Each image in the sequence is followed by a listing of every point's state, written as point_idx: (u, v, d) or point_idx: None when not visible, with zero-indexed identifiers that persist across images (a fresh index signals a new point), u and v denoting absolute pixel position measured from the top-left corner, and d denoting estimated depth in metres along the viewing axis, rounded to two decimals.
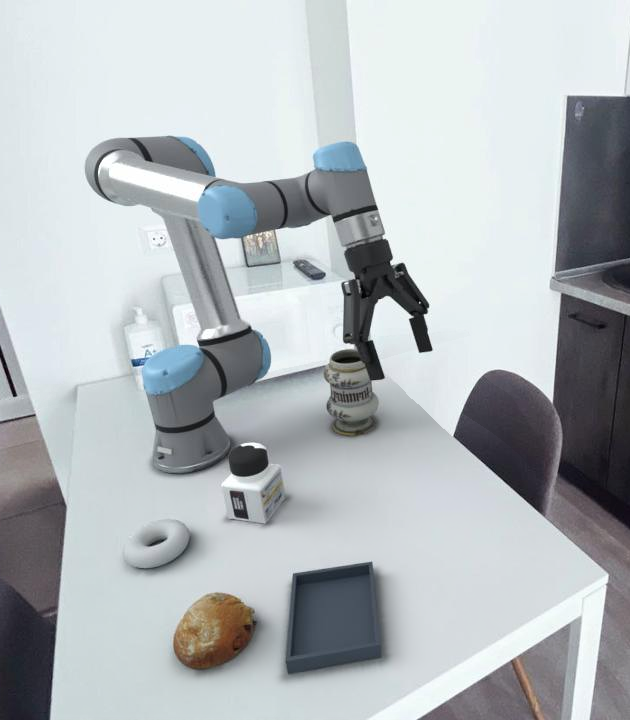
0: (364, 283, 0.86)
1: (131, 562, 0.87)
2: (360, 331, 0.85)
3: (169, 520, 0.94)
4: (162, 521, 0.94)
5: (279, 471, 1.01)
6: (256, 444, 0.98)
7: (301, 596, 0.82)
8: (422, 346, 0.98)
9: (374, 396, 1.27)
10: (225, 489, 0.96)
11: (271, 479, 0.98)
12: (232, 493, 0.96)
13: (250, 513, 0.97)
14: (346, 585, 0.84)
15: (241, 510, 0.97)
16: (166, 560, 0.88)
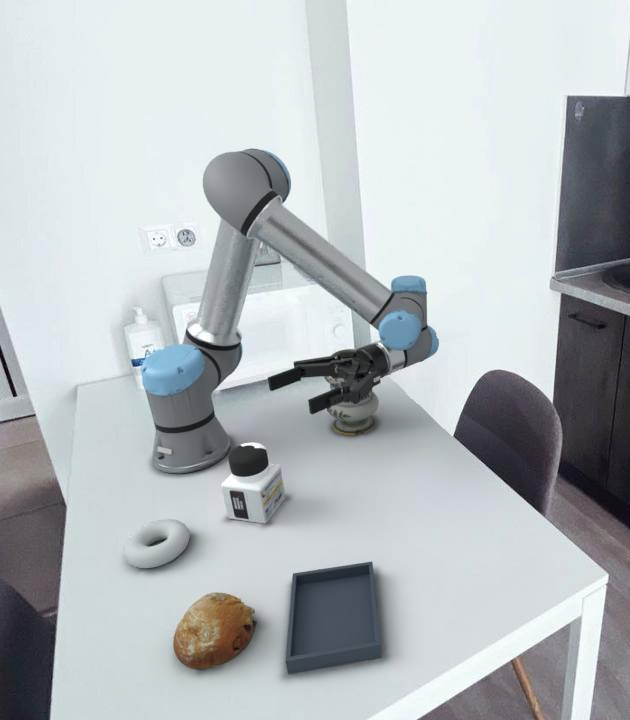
0: None
1: (131, 562, 0.87)
2: None
3: (169, 520, 0.94)
4: (162, 521, 0.94)
5: (279, 471, 1.01)
6: (256, 444, 0.98)
7: (301, 596, 0.82)
8: (275, 382, 1.05)
9: (374, 396, 1.27)
10: (225, 489, 0.96)
11: (271, 479, 0.98)
12: (232, 493, 0.96)
13: (250, 513, 0.97)
14: (346, 585, 0.84)
15: (241, 510, 0.97)
16: (166, 560, 0.88)
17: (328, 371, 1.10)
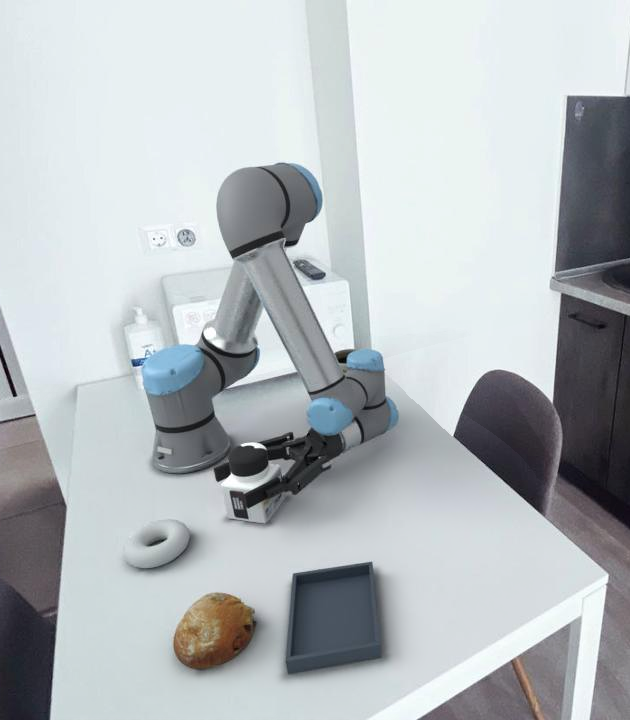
0: None
1: (131, 562, 0.87)
2: None
3: (169, 520, 0.94)
4: (162, 521, 0.94)
5: (279, 471, 1.01)
6: (256, 444, 0.98)
7: (301, 596, 0.82)
8: (222, 472, 1.00)
9: None
10: (225, 489, 0.96)
11: (271, 479, 0.98)
12: (232, 493, 0.96)
13: (250, 513, 0.97)
14: (346, 585, 0.84)
15: (241, 510, 0.97)
16: (166, 560, 0.88)
17: (280, 454, 1.06)
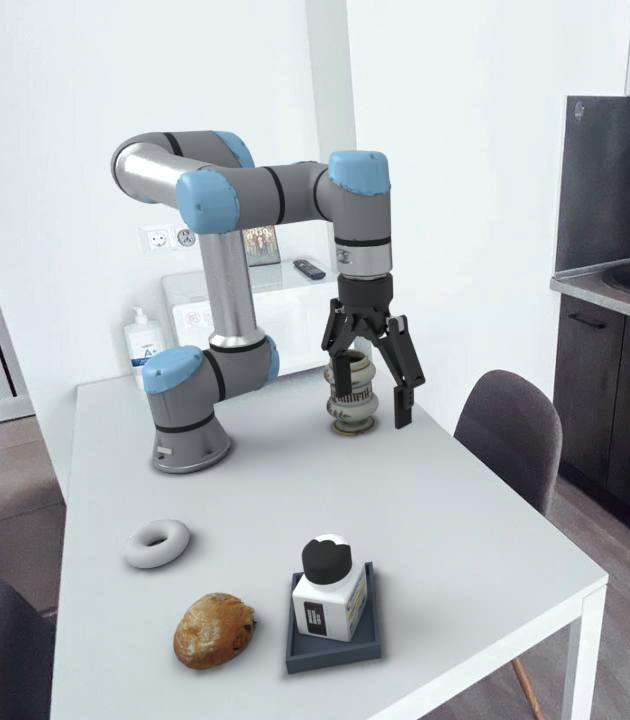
0: (344, 310, 0.78)
1: (131, 562, 0.87)
2: None
3: (169, 520, 0.94)
4: (162, 521, 0.94)
5: (363, 569, 0.78)
6: (337, 538, 0.75)
7: None
8: None
9: (374, 396, 1.27)
10: (298, 599, 0.73)
11: (356, 584, 0.75)
12: (307, 604, 0.73)
13: (329, 630, 0.74)
14: None
15: (317, 625, 0.74)
16: (166, 560, 0.88)
17: None
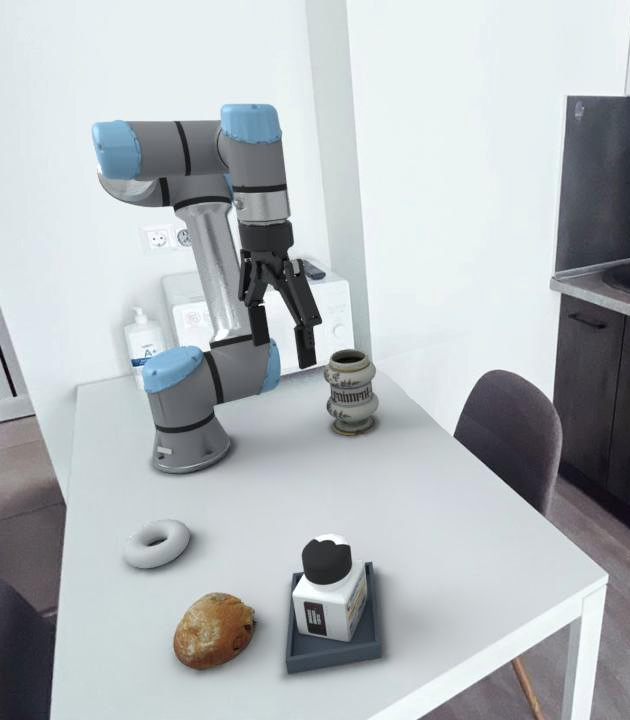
0: (251, 258, 0.83)
1: (131, 562, 0.87)
2: None
3: (169, 520, 0.94)
4: (162, 521, 0.94)
5: (363, 569, 0.78)
6: (337, 538, 0.75)
7: None
8: None
9: (374, 396, 1.27)
10: (298, 599, 0.73)
11: (356, 584, 0.75)
12: (307, 604, 0.73)
13: (329, 630, 0.74)
14: None
15: (317, 625, 0.74)
16: (166, 560, 0.88)
17: None
